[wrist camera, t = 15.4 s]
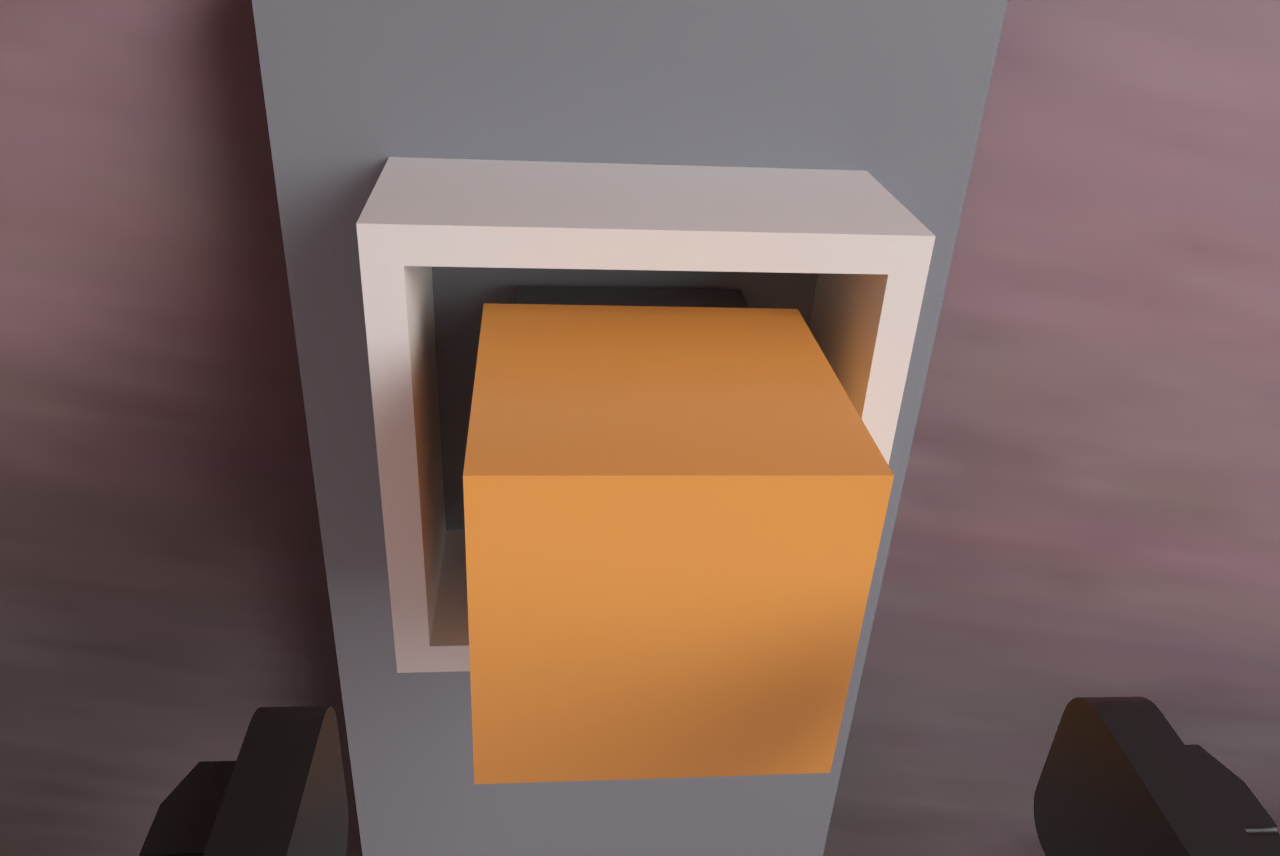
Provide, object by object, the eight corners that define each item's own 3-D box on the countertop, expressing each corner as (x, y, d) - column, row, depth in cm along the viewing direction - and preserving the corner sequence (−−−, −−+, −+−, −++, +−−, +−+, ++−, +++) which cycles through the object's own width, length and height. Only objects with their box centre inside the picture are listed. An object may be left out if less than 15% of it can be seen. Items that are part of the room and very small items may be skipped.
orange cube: (797, 308, 16) (894, 475, 12) (761, 558, 18) (830, 773, 14) (483, 303, 15) (462, 475, 11) (489, 561, 18) (474, 784, 14)
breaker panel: (963, -17, 18) (1117, 28, 13) (793, 856, 30) (842, 1046, 25) (276, -51, 17) (172, -15, 12) (383, 875, 28) (352, 1078, 24)
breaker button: (740, 289, 18) (762, 335, 16) (720, 477, 20) (737, 535, 18) (516, 285, 17) (514, 332, 16) (518, 478, 19) (517, 538, 18)
